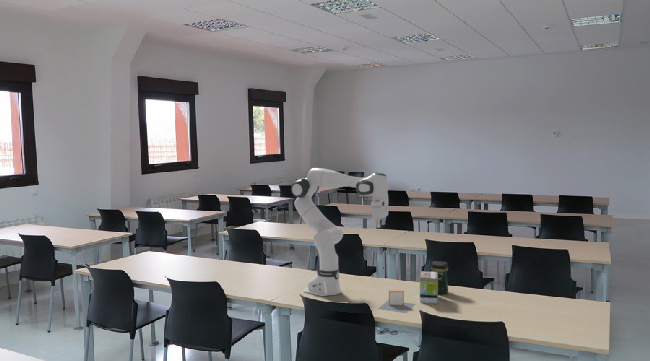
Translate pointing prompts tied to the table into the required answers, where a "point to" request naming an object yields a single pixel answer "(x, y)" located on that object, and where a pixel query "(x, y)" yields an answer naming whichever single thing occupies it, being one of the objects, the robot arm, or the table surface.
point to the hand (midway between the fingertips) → (381, 226)
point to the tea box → (428, 287)
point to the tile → (396, 297)
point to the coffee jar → (441, 275)
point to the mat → (397, 307)
